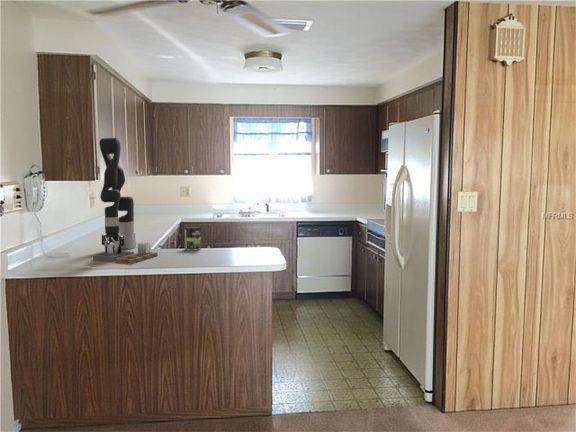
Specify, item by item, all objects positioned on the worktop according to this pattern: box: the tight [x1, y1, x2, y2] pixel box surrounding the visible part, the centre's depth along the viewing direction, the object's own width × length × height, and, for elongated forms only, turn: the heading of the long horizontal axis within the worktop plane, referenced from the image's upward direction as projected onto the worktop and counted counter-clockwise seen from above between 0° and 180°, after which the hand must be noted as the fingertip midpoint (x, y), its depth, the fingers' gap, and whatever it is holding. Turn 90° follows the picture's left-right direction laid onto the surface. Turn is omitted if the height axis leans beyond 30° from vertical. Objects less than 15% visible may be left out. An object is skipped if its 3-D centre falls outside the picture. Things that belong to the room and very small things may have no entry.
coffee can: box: [183, 225, 202, 251], centre depth 299 cm, size 10×10×14 cm
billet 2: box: [137, 241, 151, 255], centre depth 271 cm, size 4×6×8 cm
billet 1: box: [107, 243, 120, 257], centre depth 269 cm, size 4×6×8 cm
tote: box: [92, 250, 135, 263], centre depth 270 cm, size 16×16×4 cm
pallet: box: [115, 251, 159, 266], centre depth 266 cm, size 22×11×3 cm, turn 158°
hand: (113, 253), depth 269 cm, fingers open, 8 cm apart
